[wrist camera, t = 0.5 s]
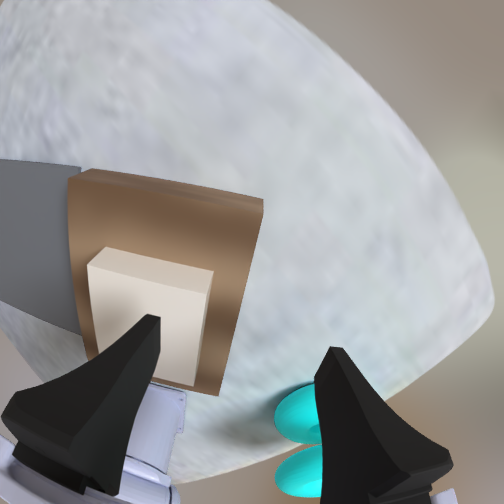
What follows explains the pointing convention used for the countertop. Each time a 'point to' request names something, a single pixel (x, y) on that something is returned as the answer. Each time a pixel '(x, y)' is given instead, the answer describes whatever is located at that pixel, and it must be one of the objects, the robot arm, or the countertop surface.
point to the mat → (37, 241)
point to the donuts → (302, 431)
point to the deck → (167, 247)
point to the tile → (151, 306)
